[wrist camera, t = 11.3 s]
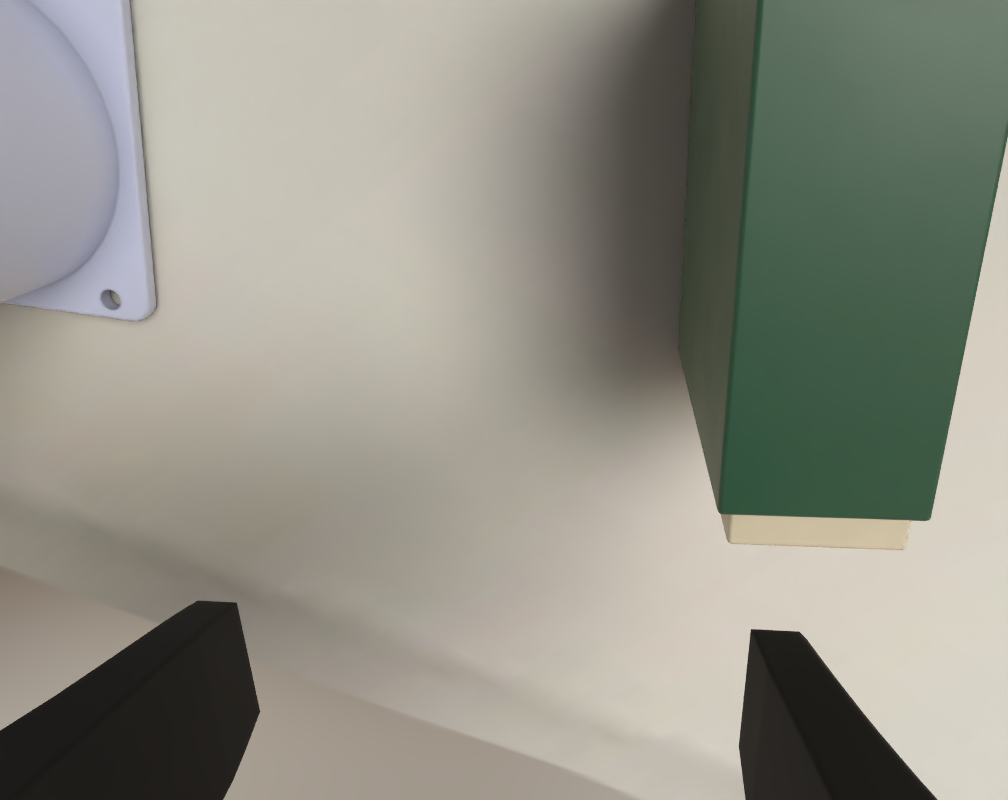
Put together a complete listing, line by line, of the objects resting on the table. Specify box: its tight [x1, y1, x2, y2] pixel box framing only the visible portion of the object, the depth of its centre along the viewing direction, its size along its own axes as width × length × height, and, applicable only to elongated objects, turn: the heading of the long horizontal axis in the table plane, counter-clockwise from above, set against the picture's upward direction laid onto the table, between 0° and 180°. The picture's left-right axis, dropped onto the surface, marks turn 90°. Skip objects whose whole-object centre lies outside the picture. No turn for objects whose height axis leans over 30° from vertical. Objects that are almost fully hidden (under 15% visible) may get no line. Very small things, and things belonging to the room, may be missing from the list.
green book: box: [678, 0, 1008, 550], centre depth 13 cm, size 3×9×8 cm, turn 2°
